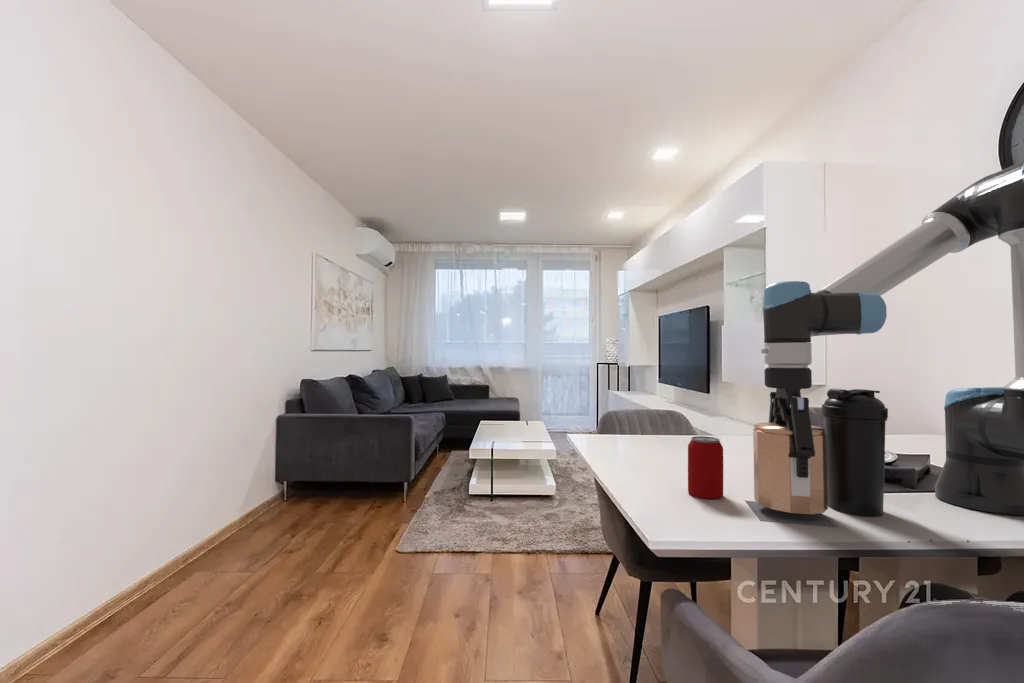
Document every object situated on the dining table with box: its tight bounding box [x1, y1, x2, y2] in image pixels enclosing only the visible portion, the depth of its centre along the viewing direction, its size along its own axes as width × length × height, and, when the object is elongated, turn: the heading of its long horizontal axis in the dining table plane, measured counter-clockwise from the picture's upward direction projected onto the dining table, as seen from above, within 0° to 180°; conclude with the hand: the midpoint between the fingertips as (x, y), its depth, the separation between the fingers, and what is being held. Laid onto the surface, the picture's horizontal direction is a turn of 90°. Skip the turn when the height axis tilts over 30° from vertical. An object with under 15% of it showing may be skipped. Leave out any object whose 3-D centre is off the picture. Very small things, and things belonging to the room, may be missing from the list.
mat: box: [744, 500, 840, 529], centre depth 88 cm, size 12×12×1 cm
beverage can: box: [687, 435, 724, 500], centre depth 99 cm, size 7×7×12 cm
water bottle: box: [821, 388, 889, 518], centre depth 91 cm, size 10×10×23 cm
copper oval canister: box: [752, 421, 829, 514], centre depth 88 cm, size 11×11×14 cm
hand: (789, 486), depth 88 cm, fingers closed on copper oval canister, 11 cm apart
